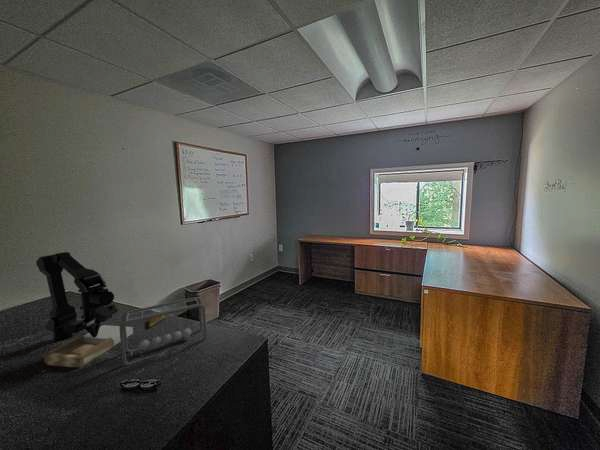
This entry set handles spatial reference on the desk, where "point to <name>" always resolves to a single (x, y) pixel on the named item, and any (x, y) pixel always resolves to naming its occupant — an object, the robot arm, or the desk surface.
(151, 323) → the shard
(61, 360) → the box
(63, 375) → the desk surface
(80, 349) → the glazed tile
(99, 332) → the plate
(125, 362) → the newton's cradle
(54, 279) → the robot arm
